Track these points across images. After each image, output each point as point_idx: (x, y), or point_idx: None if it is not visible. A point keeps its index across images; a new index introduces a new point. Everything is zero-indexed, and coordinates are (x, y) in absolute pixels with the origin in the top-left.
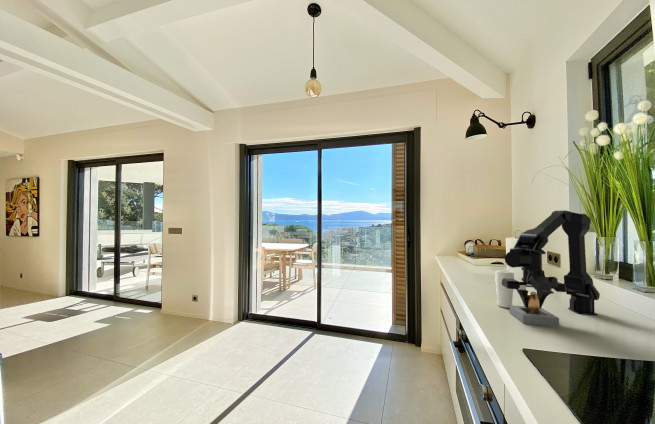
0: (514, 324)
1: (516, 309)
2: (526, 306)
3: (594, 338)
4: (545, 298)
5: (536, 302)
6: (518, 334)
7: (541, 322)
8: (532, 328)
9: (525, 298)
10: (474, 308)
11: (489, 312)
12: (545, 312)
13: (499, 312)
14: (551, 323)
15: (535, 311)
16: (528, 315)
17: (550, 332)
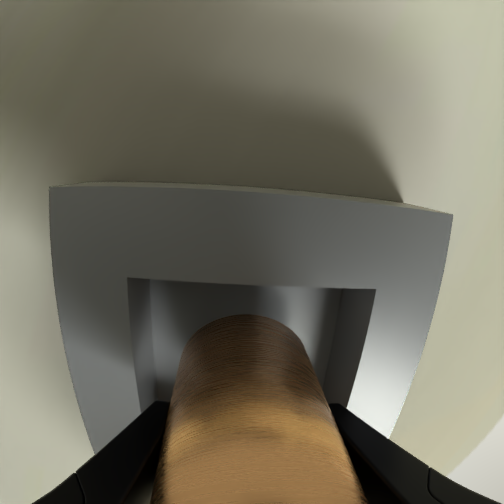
0: (471, 175)
1: (395, 397)
2: (343, 411)
3: (16, 10)
4: (41, 499)
5: (250, 436)
6: (495, 17)
7: (249, 188)
8: (384, 92)
9: (424, 483)
10: (492, 423)
11: (471, 393)
12: (111, 369)
13: (413, 419)
14: (148, 183)
15: (256, 338)
16: (405, 210)
17: (273, 18)
